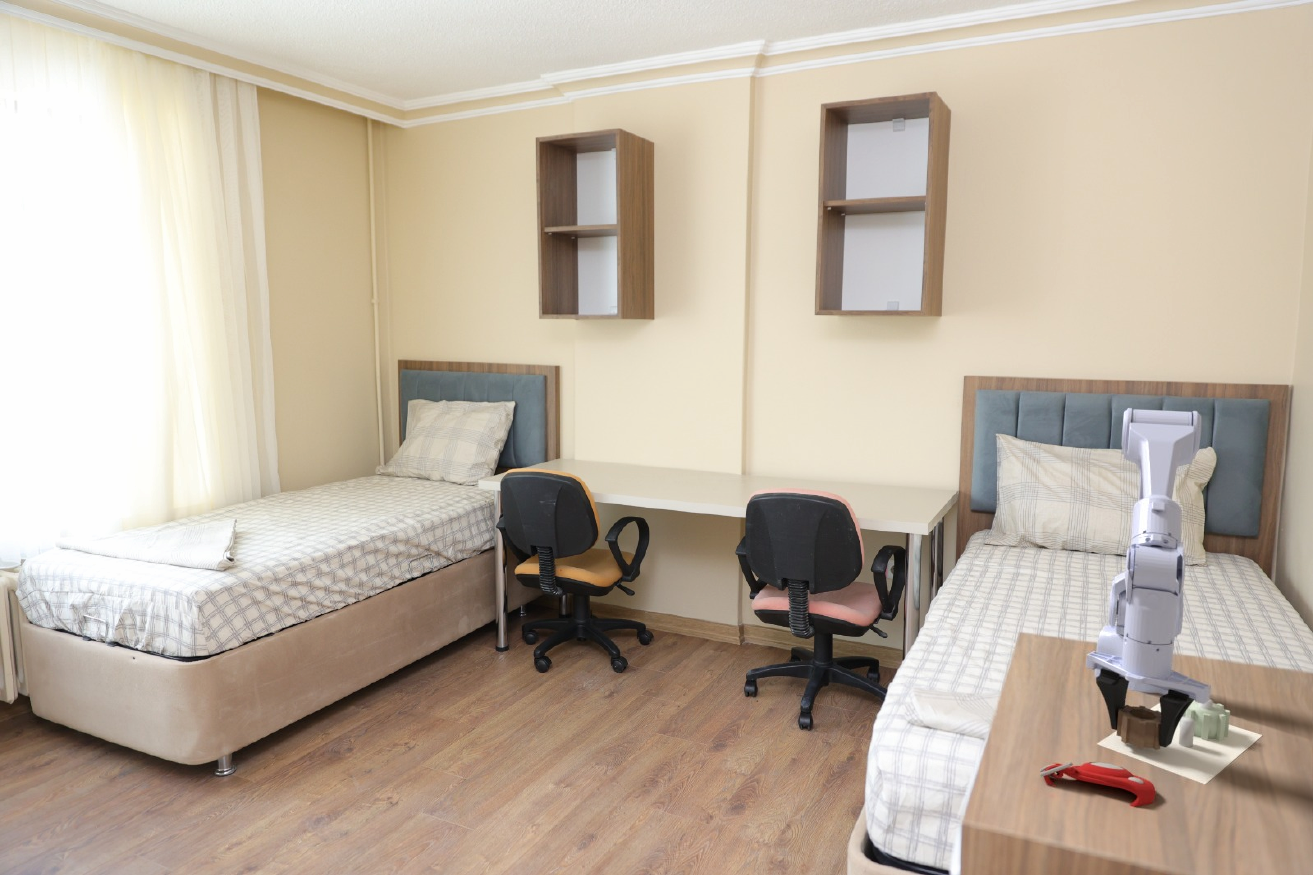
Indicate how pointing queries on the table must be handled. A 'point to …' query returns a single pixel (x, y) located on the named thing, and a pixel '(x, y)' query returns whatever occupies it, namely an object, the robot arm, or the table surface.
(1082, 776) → the red peeler
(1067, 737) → the table surface
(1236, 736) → the gear board
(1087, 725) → the table surface
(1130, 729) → the walnut gear
